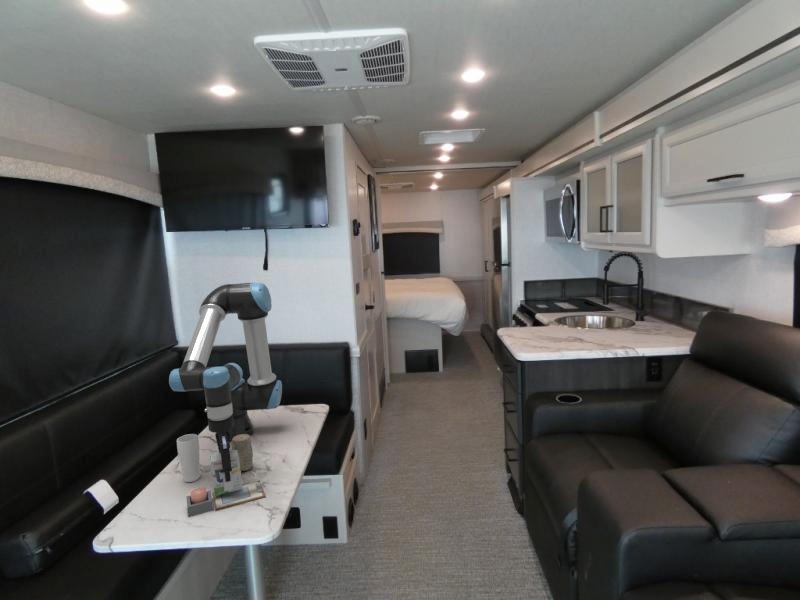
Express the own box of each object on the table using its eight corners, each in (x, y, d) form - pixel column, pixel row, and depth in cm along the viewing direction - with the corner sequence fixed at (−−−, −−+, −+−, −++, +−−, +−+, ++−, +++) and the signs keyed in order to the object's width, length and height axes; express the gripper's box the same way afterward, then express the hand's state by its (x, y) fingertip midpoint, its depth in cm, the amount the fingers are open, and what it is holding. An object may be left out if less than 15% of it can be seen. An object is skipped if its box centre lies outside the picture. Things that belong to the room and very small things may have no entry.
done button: (191, 501, 145) (190, 489, 145) (206, 497, 147) (205, 485, 146) (192, 508, 141) (190, 496, 141) (207, 504, 143) (206, 492, 142)
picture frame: (212, 494, 152) (212, 490, 152) (259, 481, 158) (259, 478, 158) (215, 511, 142) (215, 507, 142) (265, 497, 148) (265, 493, 148)
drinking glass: (206, 475, 164) (202, 434, 162) (192, 485, 158) (187, 443, 156) (191, 473, 167) (186, 432, 165) (176, 482, 160) (171, 441, 158)
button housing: (187, 505, 146) (186, 496, 145) (211, 499, 149) (210, 490, 148) (188, 516, 140) (187, 507, 139) (213, 510, 143) (212, 500, 142)
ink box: (241, 482, 155) (237, 448, 154) (242, 489, 150) (239, 454, 149) (213, 489, 152) (209, 454, 150) (214, 496, 147) (210, 461, 146)
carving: (258, 465, 170) (255, 433, 168) (243, 475, 163) (239, 442, 162) (244, 462, 173) (241, 431, 171) (229, 472, 166) (225, 440, 164)
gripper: (205, 410, 154) (213, 476, 157) (209, 429, 138) (217, 502, 141) (229, 405, 158) (236, 470, 161) (236, 423, 141) (243, 495, 144)
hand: (227, 485), depth 151 cm, fingers closed on ink box, 5 cm apart
